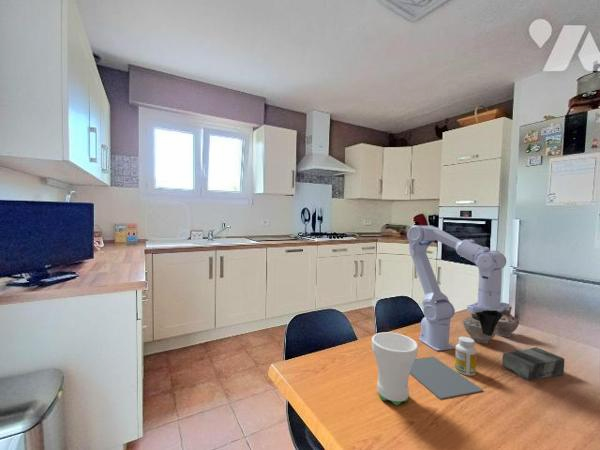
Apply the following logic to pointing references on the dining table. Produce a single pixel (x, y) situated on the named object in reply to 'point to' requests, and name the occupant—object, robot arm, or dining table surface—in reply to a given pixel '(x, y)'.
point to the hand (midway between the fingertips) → (487, 334)
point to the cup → (394, 364)
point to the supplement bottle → (465, 356)
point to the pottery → (502, 329)
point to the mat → (441, 378)
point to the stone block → (533, 363)
